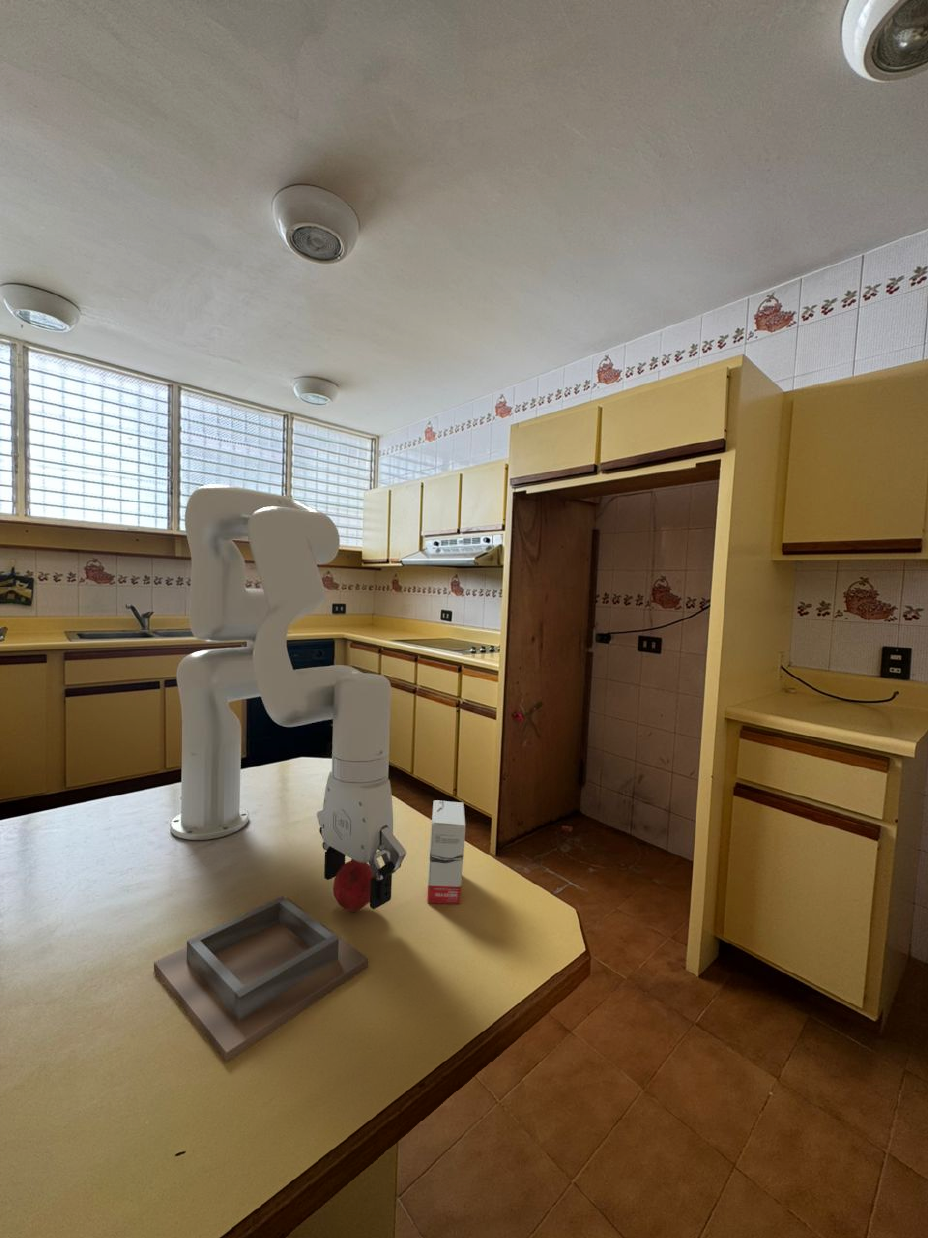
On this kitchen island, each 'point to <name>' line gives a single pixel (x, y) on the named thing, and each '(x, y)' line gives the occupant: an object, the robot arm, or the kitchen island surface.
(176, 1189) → the kitchen island surface
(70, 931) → the kitchen island surface
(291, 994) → the dock
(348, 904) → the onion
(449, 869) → the ink box
